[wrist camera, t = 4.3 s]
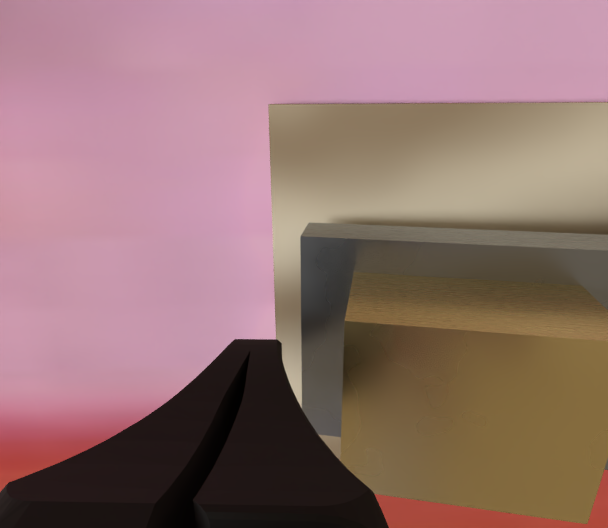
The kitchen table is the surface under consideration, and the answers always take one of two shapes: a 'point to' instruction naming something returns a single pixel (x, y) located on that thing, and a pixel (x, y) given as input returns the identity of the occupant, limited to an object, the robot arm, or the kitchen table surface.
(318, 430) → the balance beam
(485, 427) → the tan block
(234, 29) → the kitchen table surface
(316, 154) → the beam stand
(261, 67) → the kitchen table surface
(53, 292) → the kitchen table surface
